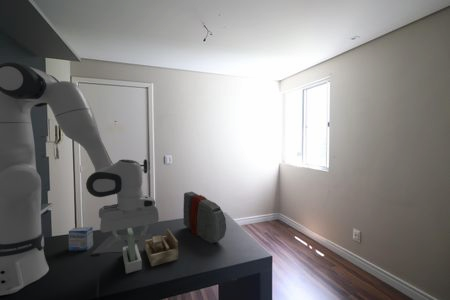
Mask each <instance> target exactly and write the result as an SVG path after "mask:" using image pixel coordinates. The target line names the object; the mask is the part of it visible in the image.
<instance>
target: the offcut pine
mask: <svg viewBox="0 0 450 300" xmlns="http://www.w3.org/2000/svg"><path fill="white" fill-rule="evenodd" d="M160 236H161V235H154V236H151V237H152V238H151V239H152V242H153V247H154V248H157V247H162V240H161V237H160Z"/></svg>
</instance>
